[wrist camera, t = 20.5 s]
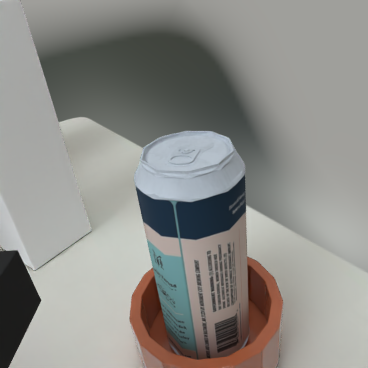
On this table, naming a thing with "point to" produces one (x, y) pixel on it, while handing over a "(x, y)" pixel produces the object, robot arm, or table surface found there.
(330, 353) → the table surface
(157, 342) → the holder
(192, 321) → the beer can
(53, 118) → the milk
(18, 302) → the robot arm
